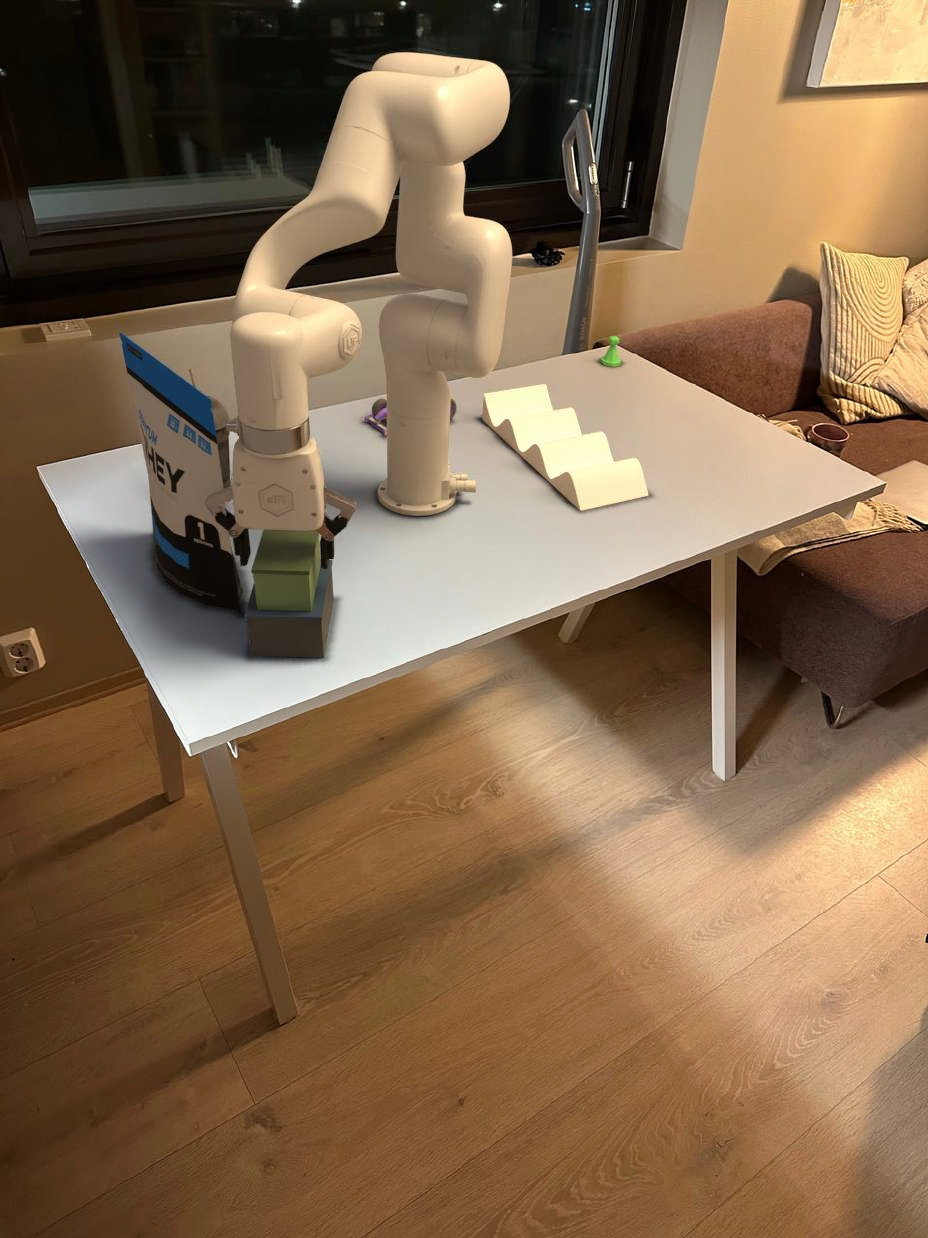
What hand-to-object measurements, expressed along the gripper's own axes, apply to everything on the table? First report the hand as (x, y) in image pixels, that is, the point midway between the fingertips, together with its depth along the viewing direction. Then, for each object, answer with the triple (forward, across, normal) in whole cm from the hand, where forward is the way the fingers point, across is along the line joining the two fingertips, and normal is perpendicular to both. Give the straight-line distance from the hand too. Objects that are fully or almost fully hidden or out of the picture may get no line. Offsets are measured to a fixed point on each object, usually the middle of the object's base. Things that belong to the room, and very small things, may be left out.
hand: (285, 561), depth 107 cm
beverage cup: (+10, -17, +35) cm, 40 cm away
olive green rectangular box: (+4, 0, 0) cm, 4 cm away
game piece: (+9, +55, +94) cm, 109 cm away
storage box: (+10, 0, +1) cm, 11 cm away
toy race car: (+10, +13, +62) cm, 64 cm away
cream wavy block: (+10, +40, +50) cm, 65 cm away
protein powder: (+11, -15, +12) cm, 22 cm away
